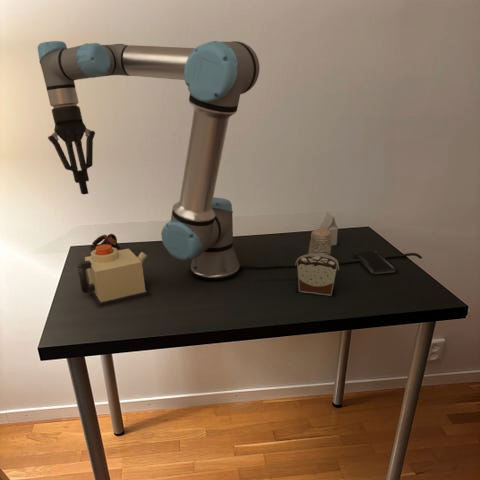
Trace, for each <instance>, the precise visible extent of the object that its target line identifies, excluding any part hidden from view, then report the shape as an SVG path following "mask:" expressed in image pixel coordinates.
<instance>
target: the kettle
mask: <svg viewBox="0 0 480 480" xmlns="http://www.w3.org/2000/svg"><path fill="white" fill-rule="evenodd" d="M137 257H138V256H137V255H136V254H135V253H134V252H133V251H132V250H131V249H130V248H124V249H121V250H119V251H118V250H117V248H113V247H112V253H111V254H108V255H97V253H96V249H95V250H93V251H92V250H91V251H90V255H88V256H84V261H90V262H91V268H89V269H86V271H87V272H86V273H87V278H88V281H89V282H88V283H89V284H92V283H93V284H94V286H95V291H94V293H95V294H96V296H97V297H98V299H99V300H100V302H104V301H108V300H113V299H117V298H121V297H125V296H129V295H134V294H138V293H142V292H146V291H147V290H146V291H145V289H146V285H145V284H146V283H145V277H144V269H143V264H142V262H141V261H140V260H139V259H138V258H137Z"/></svg>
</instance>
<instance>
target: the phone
mask: <svg viewBox="0 0 480 480" xmlns="http://www.w3.org/2000/svg"><path fill="white" fill-rule="evenodd" d="M383 256H384V255H382V254H381V253H380V252H379V251H365V252H363V251H362V252H357V253H356V254H355V258H356V259H361V261H360V263H361V264H362V266H363V267H365V269H367V270H368V272H370V273H371V274H372V275H383V274H392V273H393V274H394V273H396V272H397V271H396V269H397V268H396V266H394V264H392V263H391V262H390V261H389V260H388V258H384V257H383Z"/></svg>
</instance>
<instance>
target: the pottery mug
mask: <svg viewBox="0 0 480 480" xmlns="http://www.w3.org/2000/svg"><path fill="white" fill-rule="evenodd" d="M104 244H108V245H111V246H112V247H113V248H116V249H117V250H118V251H119V250H122V248H121V247H120V245H119V243H118V239H117V236H116V235H115V234H114V233H109V234H108V235H107V234H102V235H100V236H98V237H97V238H96V239H95V240H93V241H92V242H91V244H90V246H89V250H90V251H91V252H92V251H93V250H95V249H96V247H97V246H99V245H104Z"/></svg>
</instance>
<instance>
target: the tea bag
mask: <svg viewBox="0 0 480 480" xmlns="http://www.w3.org/2000/svg"><path fill="white" fill-rule="evenodd" d="M320 229H326V230H329V231H330V232H331V235H332V243H331V246H338V245H337V244H338V233H339V228H338V226H337V223H336V218H335V216H333V215H332V214H330V212H328V211H326V213H325V215H324V217H323V219H322V221H321V223H320Z"/></svg>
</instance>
